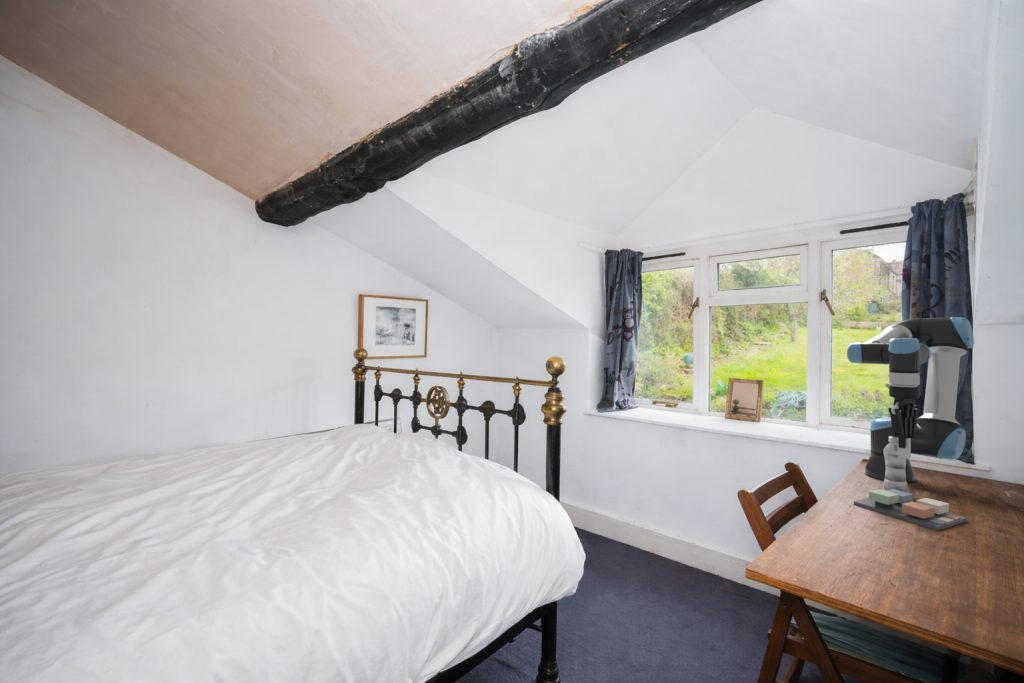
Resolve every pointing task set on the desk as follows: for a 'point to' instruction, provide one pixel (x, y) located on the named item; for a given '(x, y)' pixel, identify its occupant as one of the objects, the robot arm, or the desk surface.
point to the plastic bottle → (894, 467)
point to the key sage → (884, 496)
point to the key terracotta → (918, 510)
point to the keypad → (896, 511)
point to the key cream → (935, 505)
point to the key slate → (902, 496)
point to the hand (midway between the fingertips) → (904, 457)
